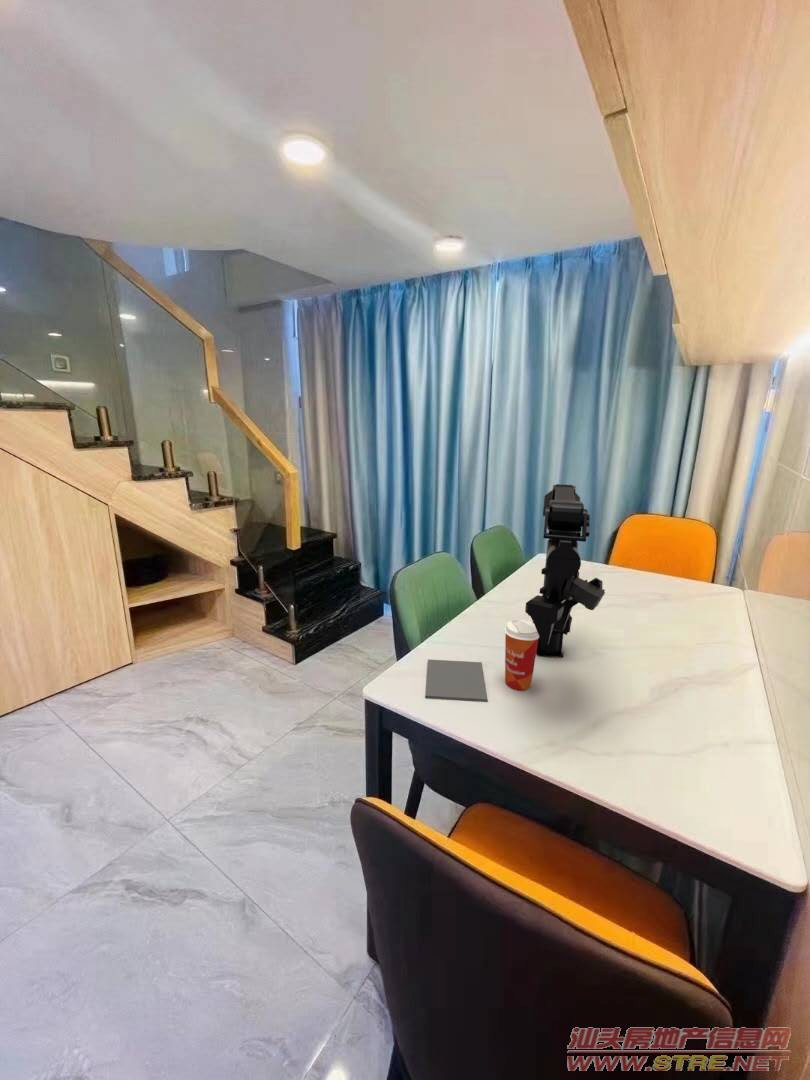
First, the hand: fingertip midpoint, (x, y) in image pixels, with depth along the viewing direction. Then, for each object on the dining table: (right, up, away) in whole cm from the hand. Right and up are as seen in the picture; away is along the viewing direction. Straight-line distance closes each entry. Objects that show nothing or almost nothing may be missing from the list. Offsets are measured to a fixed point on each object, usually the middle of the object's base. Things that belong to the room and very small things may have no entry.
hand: (553, 637), depth 92 cm
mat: (-19, -12, +9) cm, 24 cm away
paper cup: (-5, -12, +7) cm, 15 cm away
